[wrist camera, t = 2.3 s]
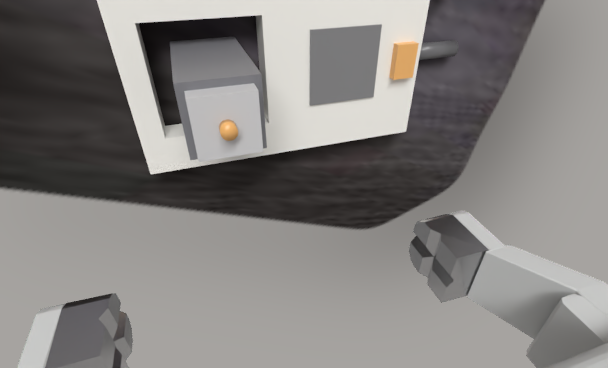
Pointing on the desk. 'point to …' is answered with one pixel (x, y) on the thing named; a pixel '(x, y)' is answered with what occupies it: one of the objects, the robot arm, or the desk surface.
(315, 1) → the white flat block
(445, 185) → the desk surface
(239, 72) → the drawer
